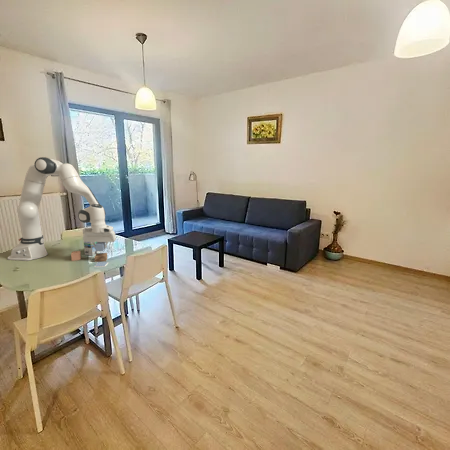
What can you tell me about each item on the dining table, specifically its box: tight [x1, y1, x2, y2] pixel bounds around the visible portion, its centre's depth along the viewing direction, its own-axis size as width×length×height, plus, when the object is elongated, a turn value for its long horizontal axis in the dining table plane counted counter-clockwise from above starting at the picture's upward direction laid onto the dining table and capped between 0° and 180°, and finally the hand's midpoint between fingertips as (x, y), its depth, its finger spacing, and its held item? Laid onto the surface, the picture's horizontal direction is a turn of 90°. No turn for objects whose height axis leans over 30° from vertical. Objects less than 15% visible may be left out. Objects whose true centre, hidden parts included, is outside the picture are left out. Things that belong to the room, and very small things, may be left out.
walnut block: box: [93, 252, 108, 263], centre depth 175 cm, size 7×7×4 cm
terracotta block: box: [70, 250, 82, 262], centre depth 175 cm, size 5×5×5 cm
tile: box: [93, 261, 109, 268], centre depth 167 cm, size 7×7×1 cm
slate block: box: [95, 242, 107, 252], centre depth 174 cm, size 5×5×5 cm
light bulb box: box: [83, 241, 102, 257], centre depth 187 cm, size 11×7×11 cm, turn 168°
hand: (100, 247), depth 174 cm, fingers closed on slate block, 5 cm apart
